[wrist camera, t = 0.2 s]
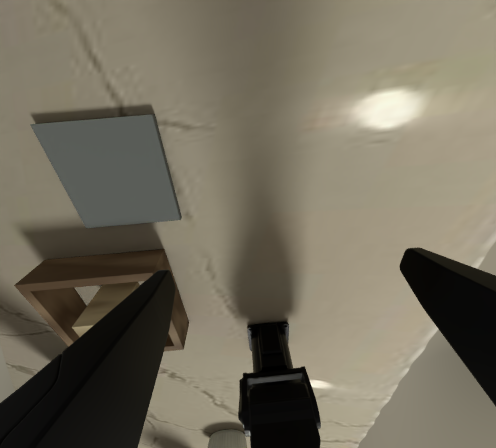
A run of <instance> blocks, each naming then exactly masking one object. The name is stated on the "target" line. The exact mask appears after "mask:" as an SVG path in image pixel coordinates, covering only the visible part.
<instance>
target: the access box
mask: <svg viewBox="0 0 496 448" xmlns="http://www.w3.org/2000/svg"><path fill="white" fill-rule="evenodd" d="M167 269H168V270H170V271H171V268H170V265H169V262H168V259H167V256H166V253H165V250H164V249H160V250H149V251H138V252H126V253H115V254H104V255H93V256H82V257H71V258H60V259H49V260H44V261H43V262H42V263H41V264H40V265H38V266H37V267H36V268H35V269H33V270H32V271H31V272H30V273H29V274H27V275H26V276H25V277H24V278H23V279H21V280H20V281H19V282H18V283H16V284H15V285H14V286H15V287H16V288H17V289H18V290H19V291H20V293H21V294H22V295H23V296H24V297H25V298H26V299H27V300H28V302H29V303H30V304H31V305H32V306H33V307H34V308H35V309H36V311H37V312H38V313H39V314H40V315H41V316H42V317H43V318H44V320H45V321H46V322H47V323H48V324H49V325H50V326H51V327H52V329H53V330H54V331H55V332H56V333H57V334H58V335H59V336H60V338H61V339H62V340H63V341H64V342H65V343H66V344H67V345H68V347H69V346H70V345H71V344H72V343H73V342H75V341H76V340H77V339H78V338H79V336H78V334H77V333H76V332H75V331H74V329H73V328H72V326H73V325H74V324H75V322H76V321H77V319H78V318H79V317H80V315H81V314H82V313H83V311H84V310H85V308H86V307H87V306H86V305H85V303H84V302H83V300H82V299H81V298H80V296H79V295H78V293H77V292H76V290H75V289H74V287H83V286H94V285H105V284H116V283H127V282H137V281H146V280H147V279H148V278H150V277H151V276H152V275H153V274H154V273H155V272H157V271H158V270H167ZM171 274H172V271H171ZM172 277H173V274H172ZM173 280H174V277H173ZM174 283H175V280H174ZM175 287H176V291H175V298H174V304H173V310H172V317H171V323H170V329H169V333H168V337H167V341H166V345H165V348H164V351H173V350H183V349H184V345H185V340H186V335H187V331H188V326H189V321H188V318H187V315H186V312H185V309H184V306H183V303H182V300H181V297H180V294H179V291H178V289H177V286H176V283H175Z"/></svg>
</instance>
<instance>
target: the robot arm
mask: <svg viewBox="0 0 496 448" xmlns="http://www.w3.org/2000/svg"><path fill="white" fill-rule="evenodd" d="M400 270H401V272H402V274H403V276H404V277H405V279H406V281H407V282H408V284H409V286H410V287H411V289H412V291H413V292H414V294H415V296H416V297H417V299H418V300H419V302H420V304H421V305H422V307H423V308H424V310H425V311H426V313H427V314H428V315H429V317H430V318H431V319H432V321H433V322H434V323H435V325H436V326H437V327H438V329H439V330H440V331H441V333H442V334H443V336H444V337H445V338H446V340H447V341H448V342H449V344H450V345H451V346H452V348H453V349H454V350H455V352H456V353H457V354H458V356H459V357H460V359H461V360H462V361H463V363H464V364H465V365H466V367H467V368H468V369H469V371H470V372H471V373H472V375H473V376H474V378H475V379H476V380H477V382H478V383H479V384H480V386H481V387H482V388H483V390H484V391H485V392H486V394H487V395H488V396H489V398H490V399H491V400H492V402H493V403H494V405H495V406H496V276H495V275H492V274H490V273H487V272H484V271H482V270H479V269H476V268H473V267H471V266H468V265H465V264H463V263H460V262H457V261H454V260H452V259H449V258H446V257H444V256H441V255H438V254H436V253H433V252H430V251H427V250H425V249H422V248H409V249H407V250H406V251H405V253H404V255H403V258H402V260H401V263H400ZM175 291H176V287H175V283H174V280H173V277H172V274H171V271H170V270H168V269H167V270H158V271H157V272H155V273H154V274H153V275H152V276H151V277H150V278H148V279H147V280H146V281H145V282H144V283H143V284H141V285H140V286H139V287H138V288H137V289H136V290H134V291H133V292H132V293H131V294H130V295H129V296H127V297H126V298H125V299H124V300H123V301H121V302H120V303H119V304H118V305H117V306H116V307H114V308H113V309H112V310H111V311H110V312H109V313H107V314H106V315H105V316H104V317H103V318H102V319H100V320H99V321H98V322H97V323H96V324H95V325H93V326H92V327H91V328H90V329H89V330H88V331H86V332H85V333H84V334H83V335H82V336H81V337H79V338H78V339H77V340H76V341H75V342H73V343H72V344H71V345H70V346H69V347H68V348H66V349H65V350H64V351H63V352H62V354H60V355H58V356H57V357H56V358H55V359H53V360H52V361H51V362H50V363H49V364H48V365H46V366H45V367H44V368H43V369H42V370H40V371H39V372H38V373H37V374H36V375H34V376H33V377H32V378H31V379H30V380H28V381H27V382H26V383H25V384H24V385H22V386H21V387H20V388H19V389H18V390H16V391H15V392H14V393H12V394H11V395H10V396H9V397H7V398H6V399H5V400H4V401H2V402H1V403H0V448H138V444H139V440H140V437H141V433H142V429H143V426H144V422H145V418H146V415H147V411H148V407H149V404H150V400H151V396H152V392H153V389H154V385H155V381H156V378H157V374H158V370H159V367H160V363H161V359H162V356H163V352H164V348H165V345H166V341H167V337H168V333H169V329H170V323H171V317H172V310H173V304H174V298H175ZM247 329H248V338H249V347H250V350H251V351H252V359H253V373H243V378H242V379H241V380H240V399H239V412H238V417H239V420H240V421H241V423H242V424H243V429H244V431H245V436H246V437H247V436H250V441H251V448H320V436H319V432H318V429H320V428H321V423H320V416H319V411H318V406H317V402H316V399H315V395H314V392H313V389H312V387H311V384H310V381H309V378H308V375H307V372H306V369H305V366H304V367H301V368H293V365H292V360H291V356H290V351H289V347H288V336H289V324H288V322H280V323H269V324H259V325H249V326H248V327H247Z"/></svg>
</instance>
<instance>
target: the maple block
mask: <svg viewBox="0 0 496 448" xmlns="http://www.w3.org/2000/svg"><path fill="white" fill-rule="evenodd" d="M139 286H140V285H139V283H138V281H137V282H127V283H116V284H105V285H102V287H101V288H100V289H99V291H98V292H97V293H96V295H95V296H94V298H93V299H92V300H91V302H90V303H89V304H88V306H87V307H86V308H85V310H84V311H83V313H82V314H81V315H80V317H79V318H78V319H77V321H76V322H75V324H74V325H73V326H72V328H73V329H74V331H75V332H76V333H77V334H78V336H79V337H81V336H82V335H83V334H84V333H85V332H86V331H88V330H89V329H90V328H91V327H92V326H93V325H95V324H96V323H97V322H98V321H99V320H100V319H102V318H103V317H104V316H105V315H106V314H107V313H109V312H110V311H111V310H112V309H113V308H114V307H116V306H117V305H118V304H119V303H120V302H121V301H123V300H124V299H125V298H126V297H127V296H129V295H130V294H131V293H132V292H133V291H134V290H136V289H137V288H138V287H139Z"/></svg>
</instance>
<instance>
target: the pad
mask: <svg viewBox="0 0 496 448" xmlns="http://www.w3.org/2000/svg"><path fill="white" fill-rule="evenodd" d="M30 125H31V127H32V129H33V131H34V133H35V134H36V136H37V138H38V140H39V142H40V144H41V146H42V147H43V149H44V151H45V153H46V155H47V157H48V159H49V160H50V162H51V164H52V166H53V168H54V170H55V171H56V173H57V175H58V177H59V179H60V181H61V183H62V184H63V186H64V188H65V190H66V192H67V194H68V196H69V197H70V199H71V201H72V203H73V205H74V207H75V208H76V210H77V212H78V214H79V216H80V218H81V220H82V221H83V223H84V225H85V227H86V228H95V227H106V226H117V225H129V224H140V223H151V222H163V221H174V220H181V213H180V209H179V206H178V202H177V198H176V194H175V190H174V187H173V183H172V179H171V175H170V171H169V168H168V164H167V160H166V156H165V152H164V149H163V145H162V141H161V137H160V133H159V129H158V126H157V122H156V118H155V114H150V115H138V116H126V117H114V118H102V119H90V120H77V121H65V122H53V123H41V124H30Z"/></svg>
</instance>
